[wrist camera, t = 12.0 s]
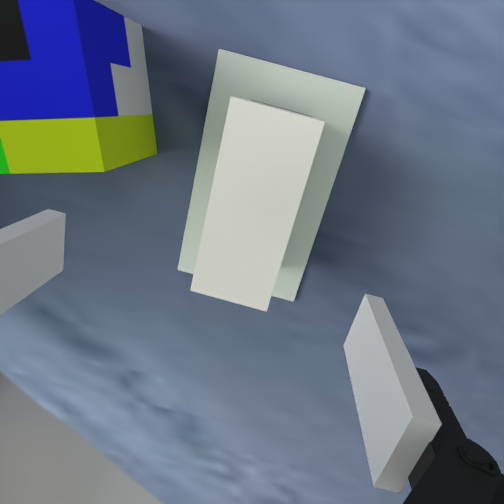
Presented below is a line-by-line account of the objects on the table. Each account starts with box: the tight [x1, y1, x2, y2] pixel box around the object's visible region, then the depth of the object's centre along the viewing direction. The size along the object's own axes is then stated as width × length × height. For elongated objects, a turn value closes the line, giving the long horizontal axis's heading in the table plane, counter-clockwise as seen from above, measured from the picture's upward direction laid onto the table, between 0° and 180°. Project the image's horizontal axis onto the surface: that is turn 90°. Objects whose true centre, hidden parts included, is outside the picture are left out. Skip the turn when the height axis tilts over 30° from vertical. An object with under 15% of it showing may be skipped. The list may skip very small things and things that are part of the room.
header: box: [178, 49, 366, 302], centre depth 30 cm, size 12×20×7 cm, turn 166°
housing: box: [190, 96, 325, 312], centre depth 28 cm, size 14×6×7 cm, turn 166°
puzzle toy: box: [0, 0, 157, 174], centre depth 27 cm, size 10×10×10 cm
